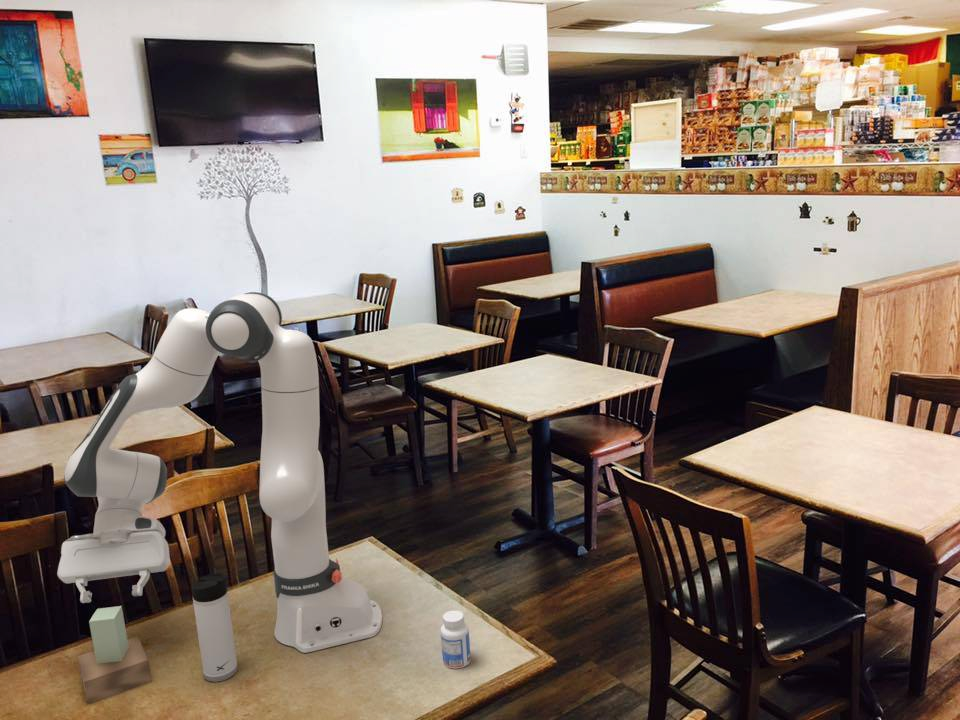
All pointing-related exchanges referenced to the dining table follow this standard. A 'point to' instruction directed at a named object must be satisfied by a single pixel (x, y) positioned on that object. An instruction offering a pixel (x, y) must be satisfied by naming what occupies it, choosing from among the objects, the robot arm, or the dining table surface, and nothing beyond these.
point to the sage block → (109, 634)
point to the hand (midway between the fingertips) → (111, 598)
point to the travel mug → (214, 627)
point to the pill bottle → (455, 640)
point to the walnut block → (114, 672)
